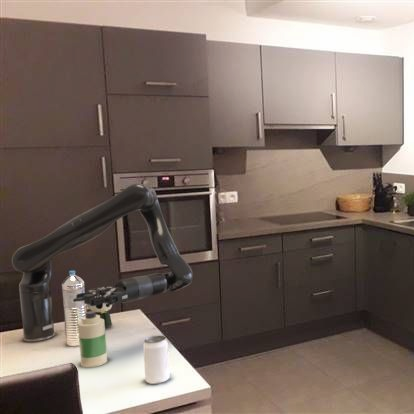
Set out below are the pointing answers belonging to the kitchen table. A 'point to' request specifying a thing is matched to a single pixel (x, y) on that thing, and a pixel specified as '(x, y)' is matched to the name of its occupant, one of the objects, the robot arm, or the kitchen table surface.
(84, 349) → the dispenser
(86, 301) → the pump head
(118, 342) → the kitchen table surface
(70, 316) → the water bottle
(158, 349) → the can
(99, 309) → the character mug
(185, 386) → the kitchen table surface
